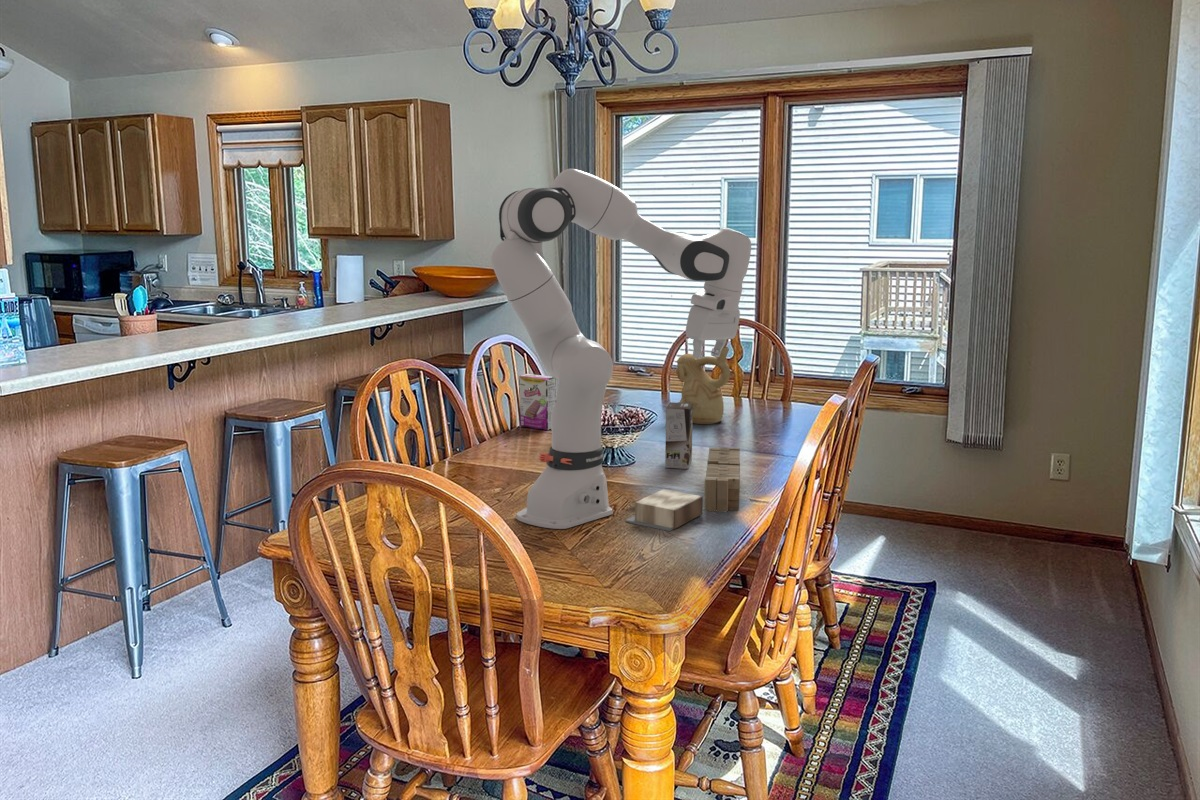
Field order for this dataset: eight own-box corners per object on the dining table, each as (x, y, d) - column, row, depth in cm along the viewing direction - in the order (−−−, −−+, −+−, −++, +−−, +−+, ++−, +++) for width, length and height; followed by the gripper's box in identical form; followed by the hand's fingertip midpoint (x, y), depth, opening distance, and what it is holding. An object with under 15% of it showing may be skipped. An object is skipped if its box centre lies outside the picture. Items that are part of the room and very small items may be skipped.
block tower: (738, 517, 206) (740, 477, 234) (739, 481, 204) (741, 445, 232) (703, 515, 207) (708, 476, 235) (704, 479, 205) (709, 444, 233)
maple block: (675, 510, 193) (634, 502, 198) (675, 528, 194) (634, 520, 199) (702, 496, 203) (663, 489, 208) (702, 513, 203) (663, 506, 209)
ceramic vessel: (688, 412, 312) (689, 339, 307) (740, 420, 300) (742, 343, 295) (661, 421, 298) (662, 344, 293) (715, 429, 287) (716, 349, 282)
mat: (669, 531, 193) (669, 529, 193) (625, 521, 199) (625, 520, 199) (702, 513, 205) (702, 512, 204) (659, 505, 211) (659, 503, 211)
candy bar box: (518, 426, 291) (517, 375, 288) (528, 423, 296) (527, 373, 292) (547, 431, 286) (546, 378, 282) (557, 428, 290) (556, 376, 287)
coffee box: (689, 469, 241) (689, 408, 238) (664, 468, 242) (665, 407, 239) (692, 460, 250) (693, 402, 247) (668, 459, 251) (669, 401, 248)
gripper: (727, 297, 225) (714, 352, 228) (688, 295, 207) (674, 355, 211) (750, 303, 221) (736, 359, 224) (712, 302, 204) (697, 362, 207)
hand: (706, 357), depth 217 cm, fingers open, 8 cm apart
